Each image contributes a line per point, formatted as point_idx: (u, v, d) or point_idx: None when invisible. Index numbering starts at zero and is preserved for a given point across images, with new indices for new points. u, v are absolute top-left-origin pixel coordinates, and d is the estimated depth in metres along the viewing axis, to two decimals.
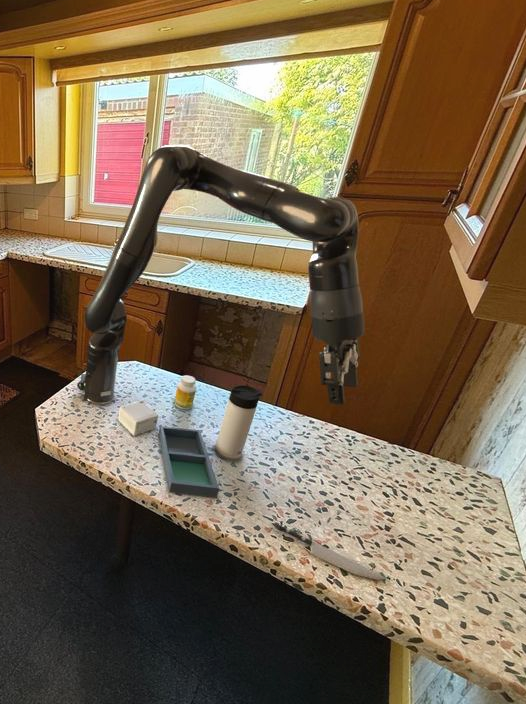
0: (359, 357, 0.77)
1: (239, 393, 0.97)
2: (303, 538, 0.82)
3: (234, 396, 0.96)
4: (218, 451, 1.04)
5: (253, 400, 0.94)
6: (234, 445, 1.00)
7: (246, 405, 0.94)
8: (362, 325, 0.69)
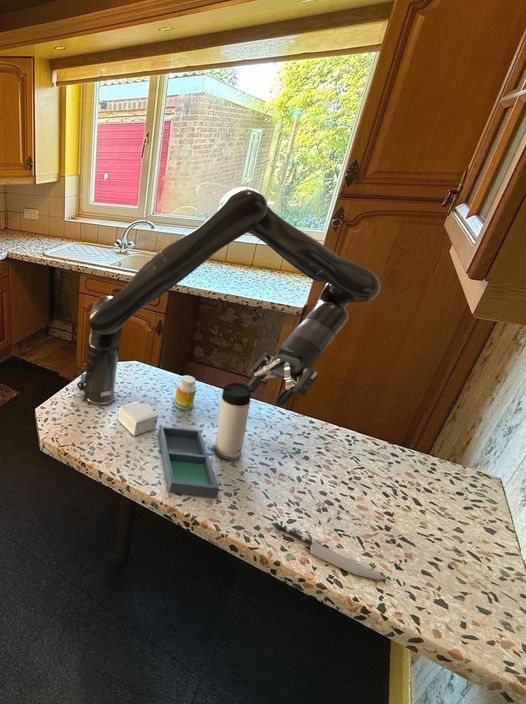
0: None
1: (231, 391, 0.97)
2: (303, 538, 0.82)
3: (226, 394, 0.97)
4: (218, 451, 1.04)
5: (245, 396, 0.94)
6: (232, 443, 1.00)
7: (238, 402, 0.95)
8: None
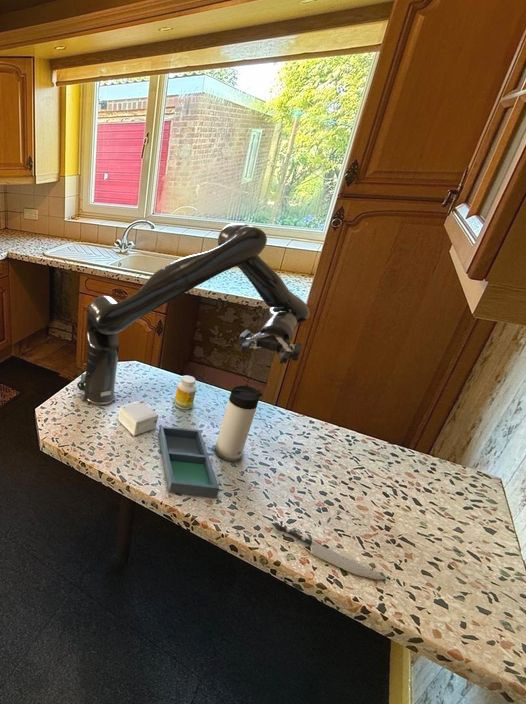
0: (240, 344, 1.09)
1: (239, 393, 0.97)
2: (303, 538, 0.82)
3: (234, 396, 0.96)
4: (218, 451, 1.04)
5: (253, 400, 0.93)
6: (234, 445, 1.00)
7: (246, 405, 0.94)
8: None
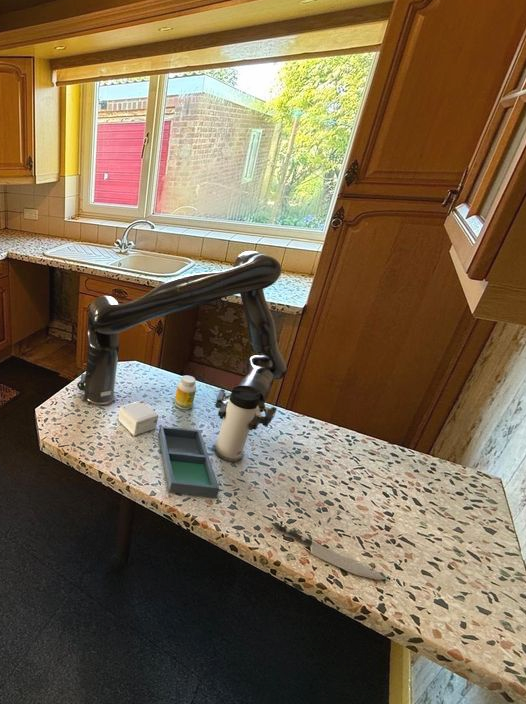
0: None
1: (239, 393, 0.97)
2: (303, 538, 0.82)
3: (234, 396, 0.96)
4: (218, 451, 1.04)
5: (253, 400, 0.93)
6: (234, 445, 1.00)
7: (246, 405, 0.94)
8: None
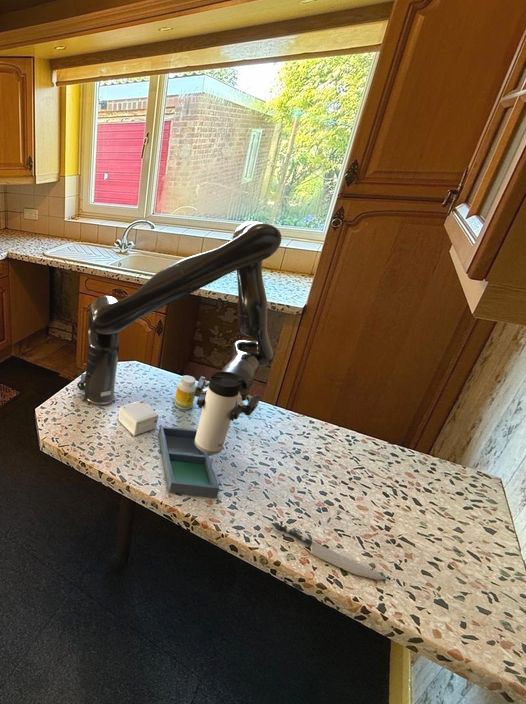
0: None
1: (219, 380, 0.88)
2: (303, 538, 0.82)
3: (213, 383, 0.87)
4: (197, 443, 0.95)
5: (233, 387, 0.85)
6: (214, 437, 0.91)
7: (226, 392, 0.86)
8: None
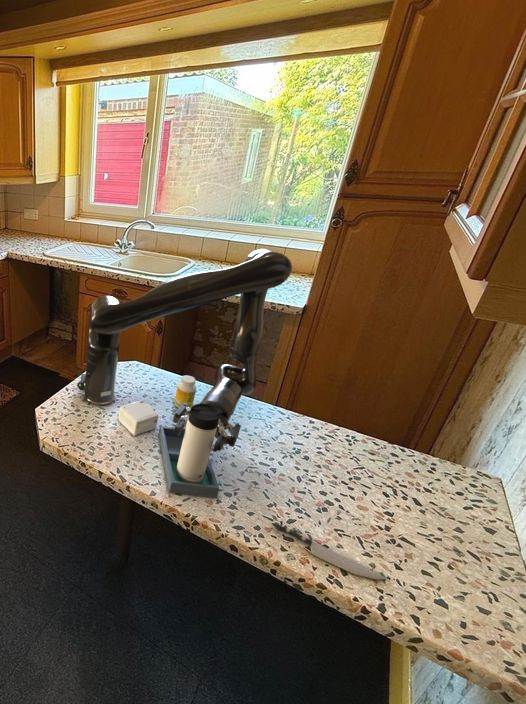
0: None
1: (198, 412, 0.89)
2: (303, 538, 0.82)
3: (192, 416, 0.88)
4: (178, 474, 0.96)
5: (212, 421, 0.86)
6: (194, 468, 0.92)
7: (205, 426, 0.86)
8: None
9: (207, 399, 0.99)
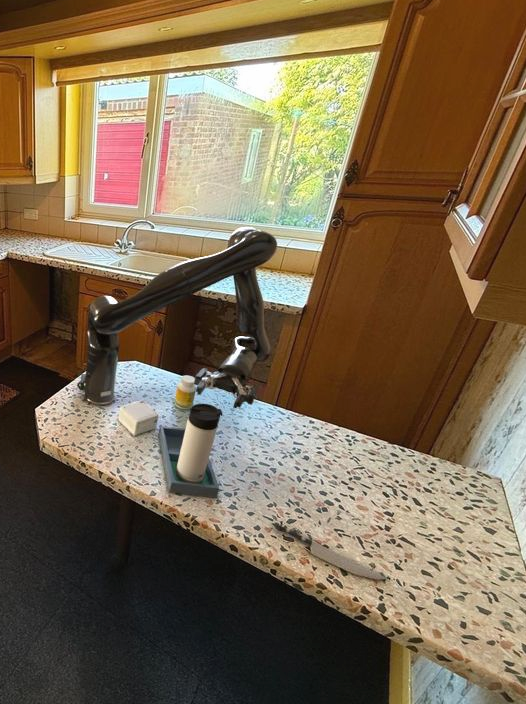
0: None
1: (198, 412, 0.89)
2: (303, 538, 0.82)
3: (193, 416, 0.88)
4: (178, 473, 0.96)
5: (212, 421, 0.86)
6: (194, 468, 0.92)
7: (205, 426, 0.86)
8: None
9: (226, 363, 1.06)
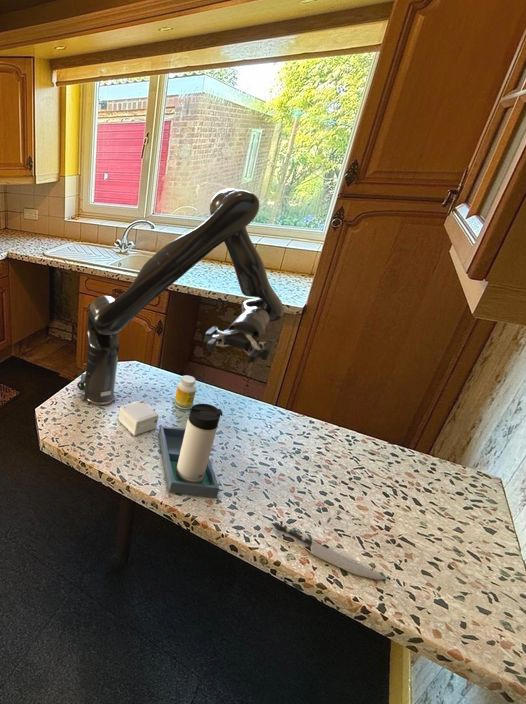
0: None
1: (198, 412, 0.89)
2: (303, 538, 0.82)
3: (193, 416, 0.88)
4: (178, 473, 0.96)
5: (212, 421, 0.86)
6: (194, 468, 0.92)
7: (205, 426, 0.86)
8: None
9: (237, 321, 1.00)
